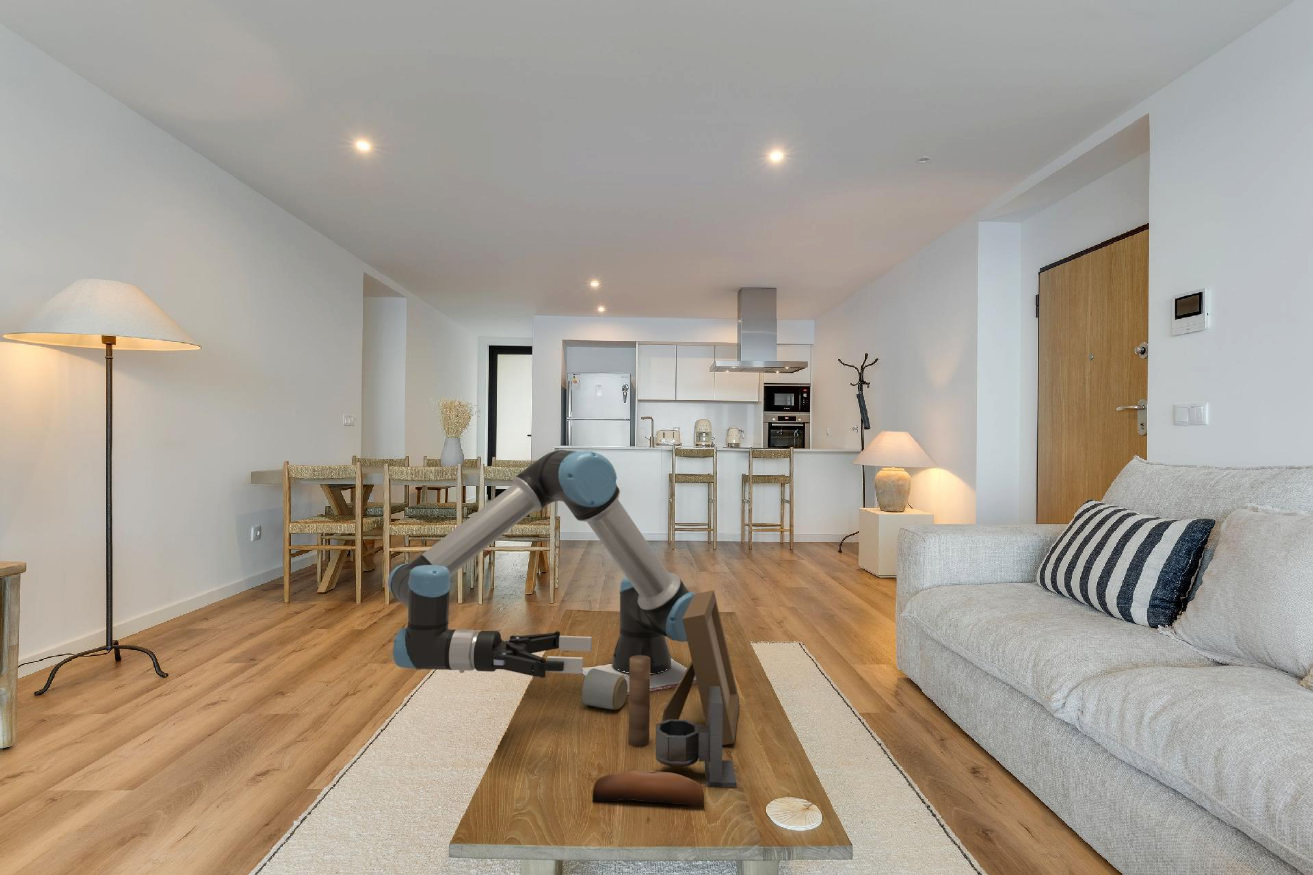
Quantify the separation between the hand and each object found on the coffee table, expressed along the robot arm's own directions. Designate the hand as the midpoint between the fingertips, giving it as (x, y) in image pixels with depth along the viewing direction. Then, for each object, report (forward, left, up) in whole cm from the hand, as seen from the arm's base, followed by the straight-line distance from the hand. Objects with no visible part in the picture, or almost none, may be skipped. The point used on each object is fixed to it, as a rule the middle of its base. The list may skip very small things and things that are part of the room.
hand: (587, 654), depth 131 cm
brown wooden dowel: (-6, +8, -17) cm, 20 cm away
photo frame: (-22, +12, -17) cm, 30 cm away
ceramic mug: (-17, -9, -17) cm, 26 cm away
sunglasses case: (+8, +21, -17) cm, 29 cm away
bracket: (-2, +24, -17) cm, 29 cm away
